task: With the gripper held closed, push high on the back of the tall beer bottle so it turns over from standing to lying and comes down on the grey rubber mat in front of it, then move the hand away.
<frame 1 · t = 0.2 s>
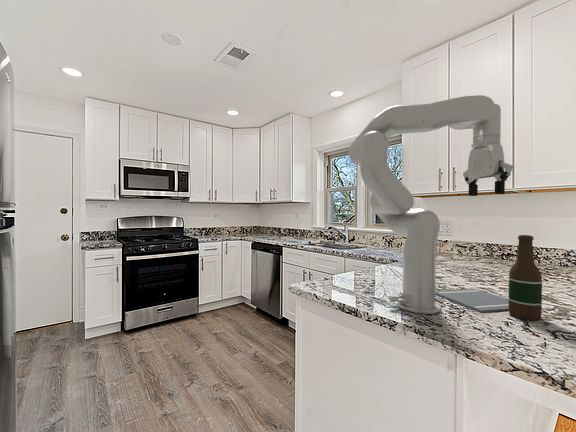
hand: (485, 194, 93), 37 cm above the counter, tool pointing down, fingers open, 9 cm apart
beer bottle: (524, 317, 83), on the counter
mat: (477, 299, 99), on the counter
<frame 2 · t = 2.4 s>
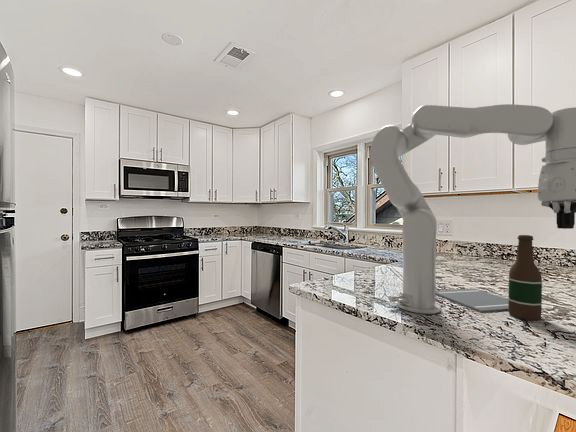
hand: (565, 228, 73), 27 cm above the counter, tool pointing down, fingers closed
nothing on the counter moved.
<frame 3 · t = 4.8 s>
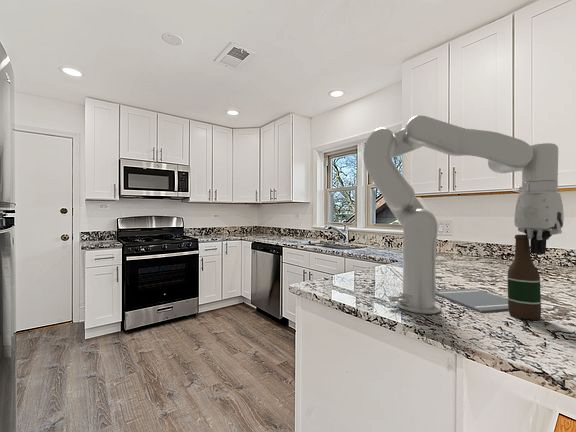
hand: (537, 253, 79), 19 cm above the counter, tool pointing down, fingers closed
beer bottle: (524, 316, 83), on the counter, touching gripper
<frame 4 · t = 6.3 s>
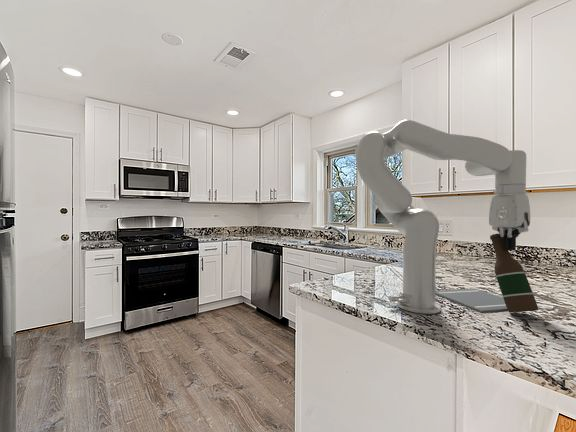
hand: (508, 249, 87), 19 cm above the counter, tool pointing down, fingers closed
beer bottle: (523, 312, 83), point 1 cm above the counter
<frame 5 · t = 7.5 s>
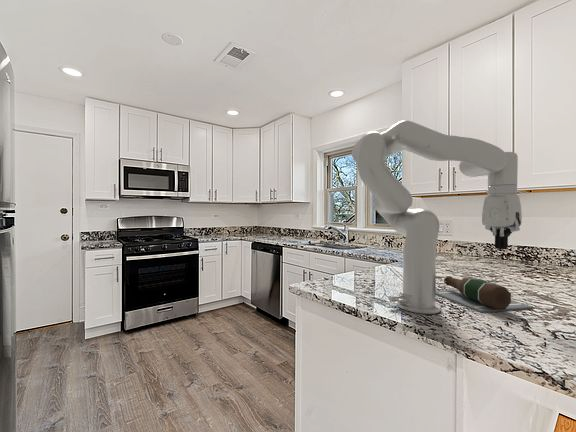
hand: (501, 248, 90), 19 cm above the counter, tool pointing down, fingers closed
beer bottle: (501, 298, 86), point 4 cm above the counter, touching mat
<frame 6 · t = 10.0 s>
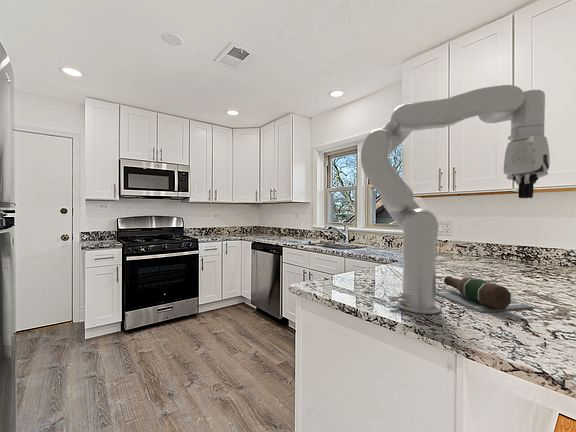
hand: (525, 197, 82), 35 cm above the counter, tool pointing down, fingers closed
nothing on the counter moved.
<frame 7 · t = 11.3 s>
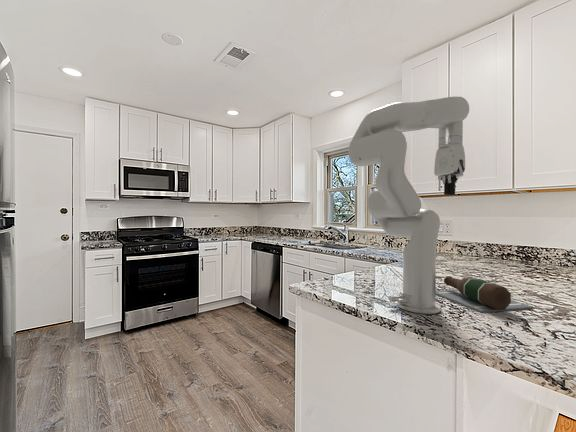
hand: (449, 194, 101), 37 cm above the counter, tool pointing down, fingers closed
nothing on the counter moved.
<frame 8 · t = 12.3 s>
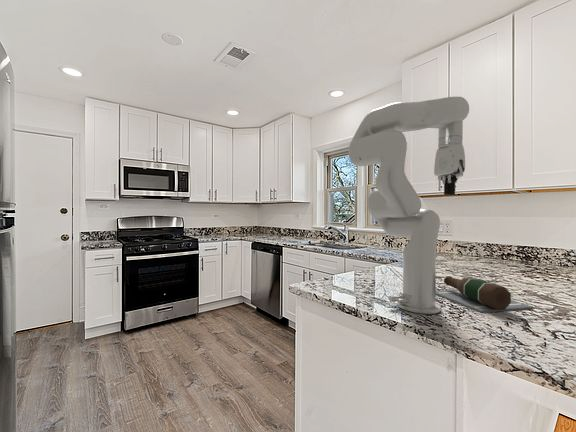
hand: (449, 194, 101), 37 cm above the counter, tool pointing down, fingers closed
nothing on the counter moved.
at the end: beer bottle tilted 90°; beer bottle inside the target area (10.0 cm from its centre), point 4.3 cm above the counter; beer bottle touching mat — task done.
